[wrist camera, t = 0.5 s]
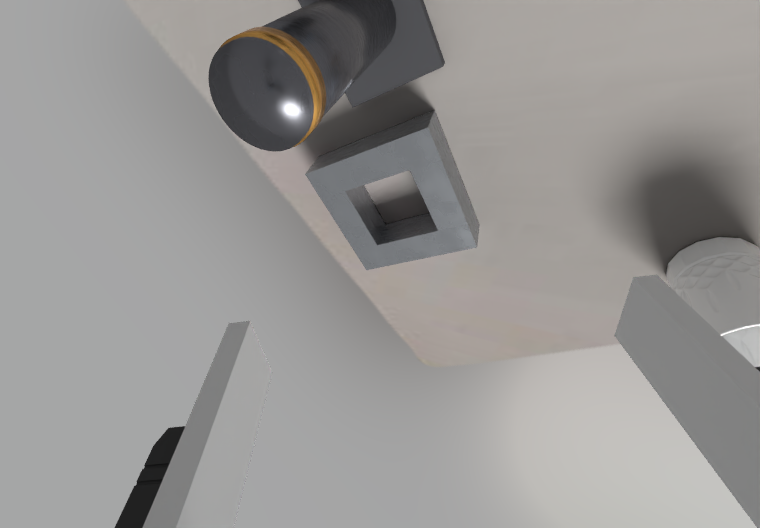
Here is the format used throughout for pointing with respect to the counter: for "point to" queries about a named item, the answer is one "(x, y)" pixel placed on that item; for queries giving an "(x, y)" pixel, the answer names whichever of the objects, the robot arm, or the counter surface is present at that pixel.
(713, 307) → the white cup
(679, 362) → the robot arm
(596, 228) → the counter surface
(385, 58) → the mount
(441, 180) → the socket
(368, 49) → the cylinder
